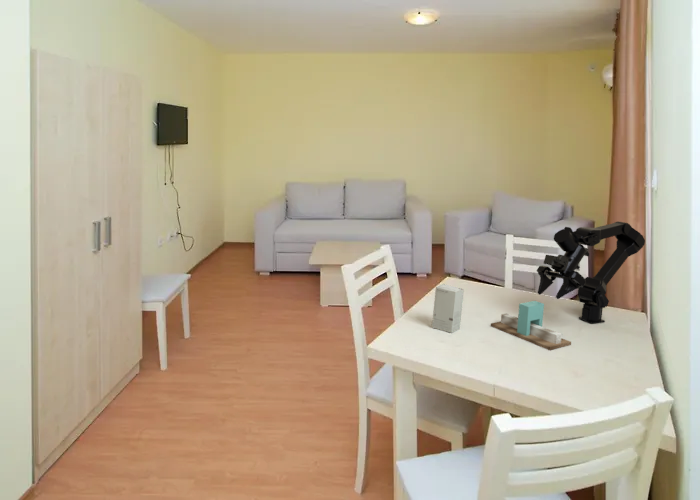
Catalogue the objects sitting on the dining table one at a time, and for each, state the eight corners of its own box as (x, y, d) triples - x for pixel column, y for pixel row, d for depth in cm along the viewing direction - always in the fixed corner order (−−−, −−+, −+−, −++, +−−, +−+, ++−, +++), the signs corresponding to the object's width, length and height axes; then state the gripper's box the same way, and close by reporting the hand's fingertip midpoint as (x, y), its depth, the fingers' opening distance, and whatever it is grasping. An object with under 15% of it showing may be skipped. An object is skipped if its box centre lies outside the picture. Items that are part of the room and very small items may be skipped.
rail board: (490, 326, 208) (491, 315, 207) (511, 321, 213) (511, 311, 212) (549, 350, 186) (550, 338, 185) (571, 344, 191) (572, 333, 190)
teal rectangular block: (532, 328, 203) (534, 300, 201) (541, 332, 200) (544, 303, 198) (517, 332, 199) (519, 303, 197) (526, 335, 196) (528, 306, 194)
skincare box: (431, 328, 205) (433, 286, 202) (440, 323, 209) (443, 283, 206) (452, 333, 200) (455, 291, 197) (461, 329, 204) (464, 287, 201)
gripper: (539, 243, 210) (515, 278, 208) (576, 247, 193) (551, 286, 191) (558, 261, 214) (535, 296, 212) (596, 267, 197) (572, 305, 195)
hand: (547, 296), depth 202 cm, fingers open, 9 cm apart
